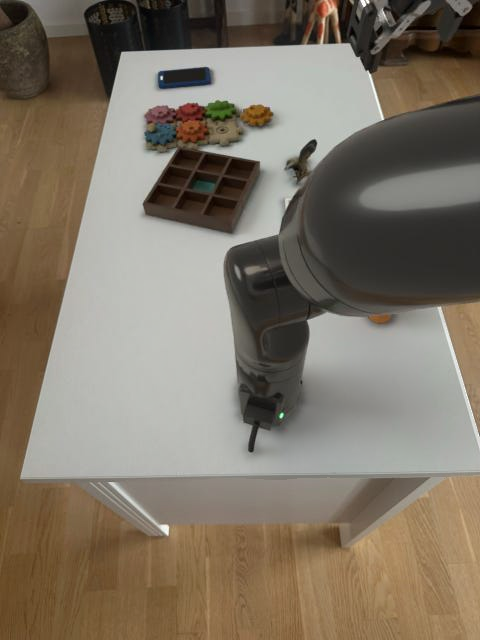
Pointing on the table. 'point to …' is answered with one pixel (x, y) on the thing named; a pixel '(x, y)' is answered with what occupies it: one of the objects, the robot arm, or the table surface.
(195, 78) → the cell phone
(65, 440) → the table surface
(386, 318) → the orange cylinder
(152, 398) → the table surface
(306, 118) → the table surface
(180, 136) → the gear puzzle
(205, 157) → the grid
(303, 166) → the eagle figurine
